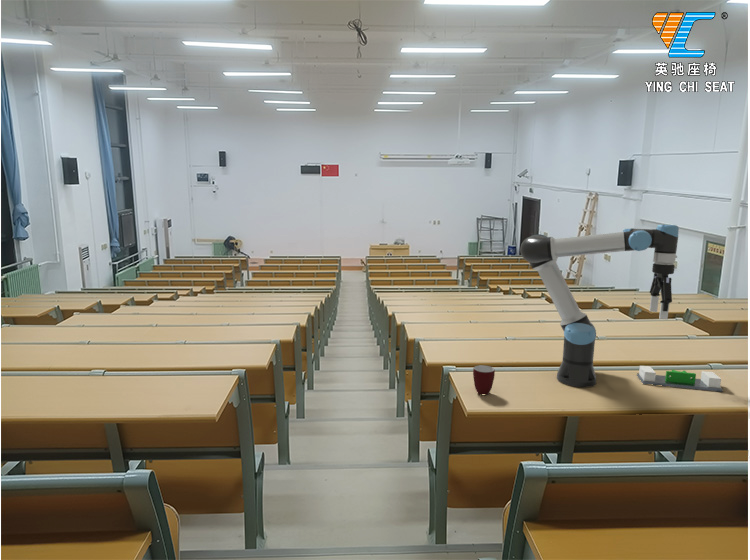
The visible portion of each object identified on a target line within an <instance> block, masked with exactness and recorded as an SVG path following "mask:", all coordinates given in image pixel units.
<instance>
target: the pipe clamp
mask: <svg viewBox="0 0 750 560" xmlns="http://www.w3.org/2000/svg"><path fill="white" fill-rule="evenodd" d="M665 376H666V378H665V381H668V382H679V383H690V384H695V379H697V374H696V373H694V372H687V371H686V370H683V371H681V370H680V371H678V370H675V369H671V370H666V371H665ZM669 376H671V377H669ZM690 378H692V379H690Z"/></svg>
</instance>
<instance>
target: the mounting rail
mask: <svg viewBox="0 0 750 560" xmlns="http://www.w3.org/2000/svg"><path fill="white" fill-rule="evenodd" d="M636 376H638V377H637V378H638V379H639V381H640V380H641V381H640V382H641V383H643V384H642V385H646V384H653V385H652V386H656V385H662V386H661V387H666V386H670V388H677V389H678V388H679V389H689V390H698V391H700V390H701V391H708V392H709V391H710V392H720V393H722V392H723V388H722V387H721V383H722V378H721V377H720V376H718V375H717V374H716V373H715V372H713V371H704V370H701V373H700V378H696V379H695V384H690V383H679V382H668V381H665V378H666V375H660V374H656V371H655V370H654V369H653V367H652V366H649V365H639V370H638V373H636ZM669 377H671V376H669ZM690 379H692V377H691V378H690Z"/></svg>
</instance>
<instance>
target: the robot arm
mask: <svg viewBox="0 0 750 560" xmlns="http://www.w3.org/2000/svg"><path fill="white" fill-rule="evenodd" d="M679 230H680V229H679V226H678V225H676V224H658V225H657V226H656V228H654V229H653V228H651V229H648V228H624V229H623V231H621V232H611V233H610V232H609V233H600V234H592V235H581V236H572V237H571V236H569V237H563V238H562V237H561V238H554V237H553V236H546V235H543V234H541V233H540V234H539V233H538V234H533V235H531V236H528V237H526V238H525V239H524V240H523V241H522V243H521V245H520V252H519V253H520V255H521V257H522V258H523V260H525V261H526V262H528V263H529V264H530V267H531V268H532V270H534V271H537V273H538V275H539V278H541V281H542V283H543V285H544V286H545V288H546V291H547V293H548V295H549V297H550V300H551V301H552V303H553V305H554V307H555V309H556V311H557V313H558V315H559V317H560V319H561V321H560V323H559V324H560V327H561V328H562V329H561V330H562V331H563V335H564V337H563V350H562V360H561V361H562V362H561V364H560V366H559V368H558V370H557V373H556V380H557V381H558V382H560V383H562V384H564V385H567V386H571V387H575V388H592V387H594V386H596V384H597V376H596V375H597V374H596V372H595V368H594V356H595V344H596V338H597V330H596V327H595V326H594V324H593V322H591V321H590V319H589V317H588V315H587V313H585V312H583V311H581V309H580V307H579V305H578V303H577V301H576V300H575V297H574V295H573V293H572V292H571V290H570V287H569V285H568V282H567V281H566V280H565V278H564V275H563V273H562V272H561V270H560V268H559V266H558V263H557V261H558V258H561V257H562V258H564V257H574V256H586V255H596V254H605V253H606V254H607V253H618V252H631V251H636V252H641V251H646V250H647V249H649V248H650V249H654V252H653V259H652V262H653V264H652V270H651V271H652V273H653V279H652V282H651V286H650V290H649V294H650V304H649V312H653V313H658V310H659V315H658V316H659V318H658V319H659V320H668V317H669V310H670V309H669V308H670V303H673V296H672V295H673V293H672V280H673V279H672V277H669V275H673V274H674V273H675V269H676V268H675V264H676V259H678V255H677V249H678V241H679V232H680V231H679ZM660 296H661V300H660V299H659V297H660ZM659 300H660V301H659ZM659 302H660V308H659V309H658V307H659Z"/></svg>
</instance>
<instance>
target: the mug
mask: <svg viewBox="0 0 750 560" xmlns="http://www.w3.org/2000/svg"><path fill="white" fill-rule="evenodd" d="M495 372H496V371H495V368H494V367H493V366H489V365H483V364H482V365H481V364H479V365H475V366H473V368H472V375H473V383H474V384H473V385H474V388H475V390H476V392H478V393H479V394H478V393H477V394H478V395H480V394H488V393H489V394H490V392H491V390H492V388H493V384H494V380H495V375H496V374H495ZM489 394H488V395H489Z"/></svg>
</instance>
